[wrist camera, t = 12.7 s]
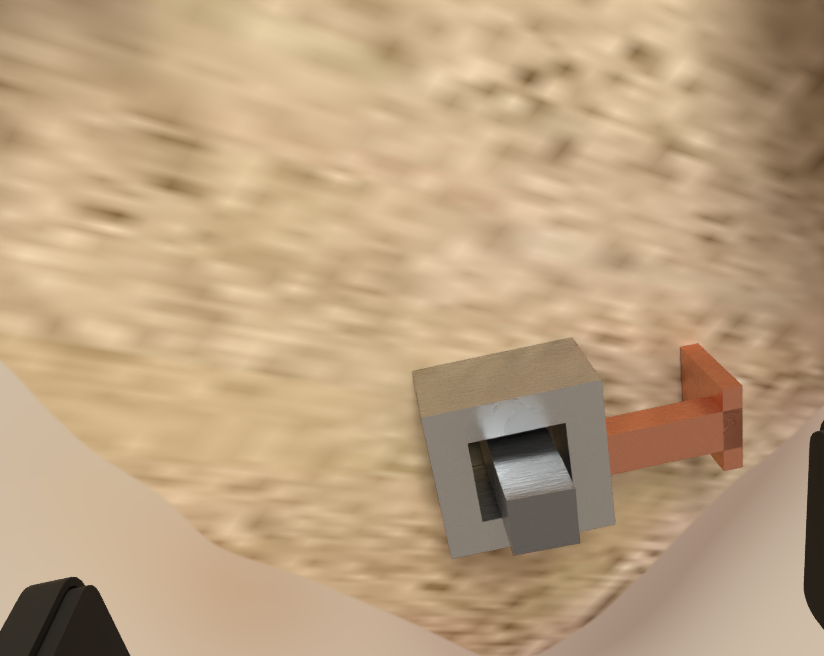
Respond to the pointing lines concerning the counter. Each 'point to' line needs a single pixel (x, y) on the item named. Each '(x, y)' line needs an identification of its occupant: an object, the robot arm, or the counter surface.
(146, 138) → the counter surface
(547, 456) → the square peg
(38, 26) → the counter surface
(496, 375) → the square sleeve with handle
